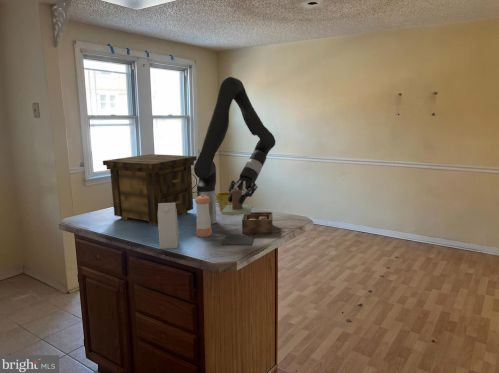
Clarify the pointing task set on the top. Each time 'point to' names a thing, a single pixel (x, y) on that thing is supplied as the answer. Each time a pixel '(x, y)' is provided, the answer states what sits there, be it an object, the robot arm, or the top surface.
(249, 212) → the lid
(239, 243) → the mat
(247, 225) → the crate
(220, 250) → the top surface
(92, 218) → the top surface
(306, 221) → the top surface
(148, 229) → the top surface
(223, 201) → the plant pot
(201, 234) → the pepper shaker
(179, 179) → the crate
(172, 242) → the milk carton
